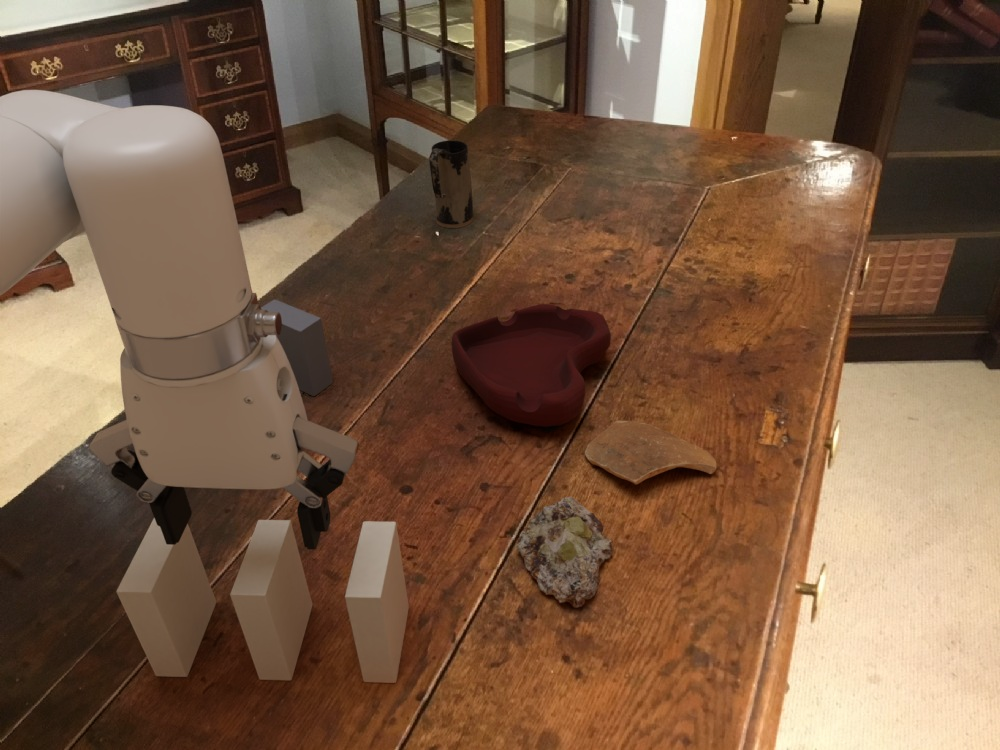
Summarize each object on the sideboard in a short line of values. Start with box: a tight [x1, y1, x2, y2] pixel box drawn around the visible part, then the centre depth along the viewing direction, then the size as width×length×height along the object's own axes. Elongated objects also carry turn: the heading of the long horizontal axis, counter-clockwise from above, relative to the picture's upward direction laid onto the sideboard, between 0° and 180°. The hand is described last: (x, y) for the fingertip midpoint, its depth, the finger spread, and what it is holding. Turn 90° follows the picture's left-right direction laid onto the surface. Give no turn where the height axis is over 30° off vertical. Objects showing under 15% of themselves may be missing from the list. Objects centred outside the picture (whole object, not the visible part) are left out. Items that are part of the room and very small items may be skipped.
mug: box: [428, 139, 474, 229], centre depth 120 cm, size 8×6×12 cm
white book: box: [229, 519, 313, 681], centre depth 64 cm, size 7×2×10 cm, turn 177°
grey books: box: [260, 298, 334, 397], centre depth 87 cm, size 7×19×8 cm, turn 145°
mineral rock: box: [515, 496, 614, 609], centre depth 72 cm, size 11×4×8 cm
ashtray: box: [451, 303, 612, 433], centre depth 91 cm, size 18×16×5 cm
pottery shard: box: [584, 420, 717, 485], centre depth 81 cm, size 10×9×2 cm
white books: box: [115, 517, 410, 684], centre depth 64 cm, size 18×7×10 cm, turn 87°
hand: (247, 531), depth 60 cm, fingers open, 9 cm apart
